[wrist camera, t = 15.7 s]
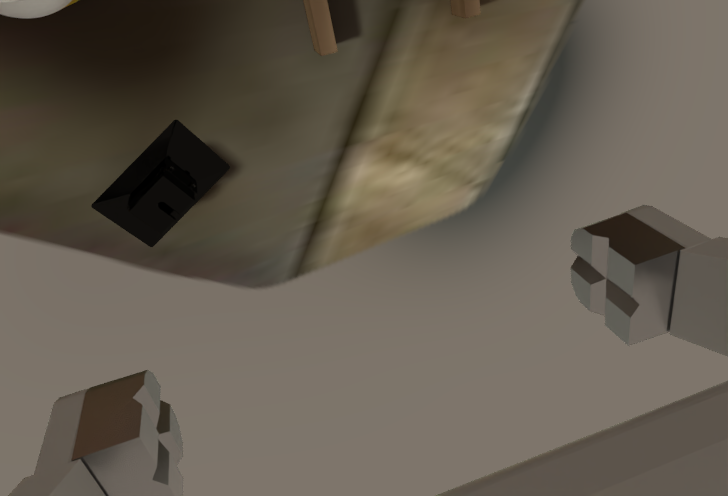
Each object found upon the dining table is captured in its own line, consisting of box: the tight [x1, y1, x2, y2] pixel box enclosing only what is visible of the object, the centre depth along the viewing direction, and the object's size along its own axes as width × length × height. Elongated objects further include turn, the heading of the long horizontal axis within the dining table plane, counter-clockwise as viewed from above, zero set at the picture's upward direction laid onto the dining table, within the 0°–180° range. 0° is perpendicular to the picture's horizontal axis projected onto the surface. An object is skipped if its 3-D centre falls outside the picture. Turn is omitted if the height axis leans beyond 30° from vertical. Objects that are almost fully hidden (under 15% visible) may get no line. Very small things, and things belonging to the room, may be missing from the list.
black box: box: [92, 120, 230, 247], centre depth 42 cm, size 12×7×5 cm, turn 131°
